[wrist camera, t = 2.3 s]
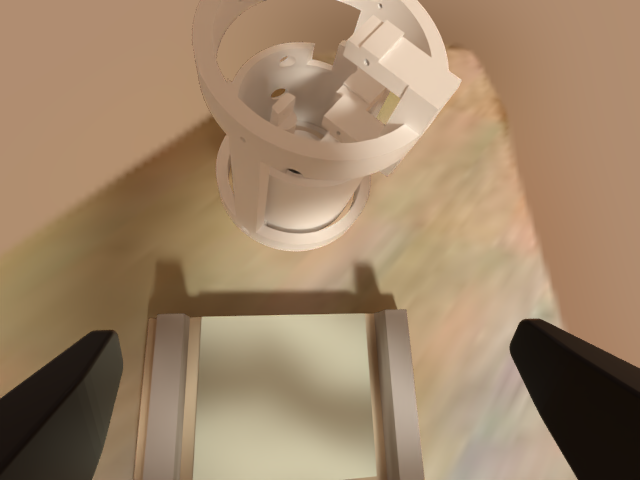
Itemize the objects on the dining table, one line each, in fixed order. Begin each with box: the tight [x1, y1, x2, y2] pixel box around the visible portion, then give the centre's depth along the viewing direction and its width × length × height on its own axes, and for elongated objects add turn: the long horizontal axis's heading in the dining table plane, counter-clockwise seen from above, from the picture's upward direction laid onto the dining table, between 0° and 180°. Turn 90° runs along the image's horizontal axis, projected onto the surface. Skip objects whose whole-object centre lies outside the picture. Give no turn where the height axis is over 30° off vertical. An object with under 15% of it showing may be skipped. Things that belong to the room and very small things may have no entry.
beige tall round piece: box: [192, 0, 461, 251], centre depth 16 cm, size 7×7×15 cm
